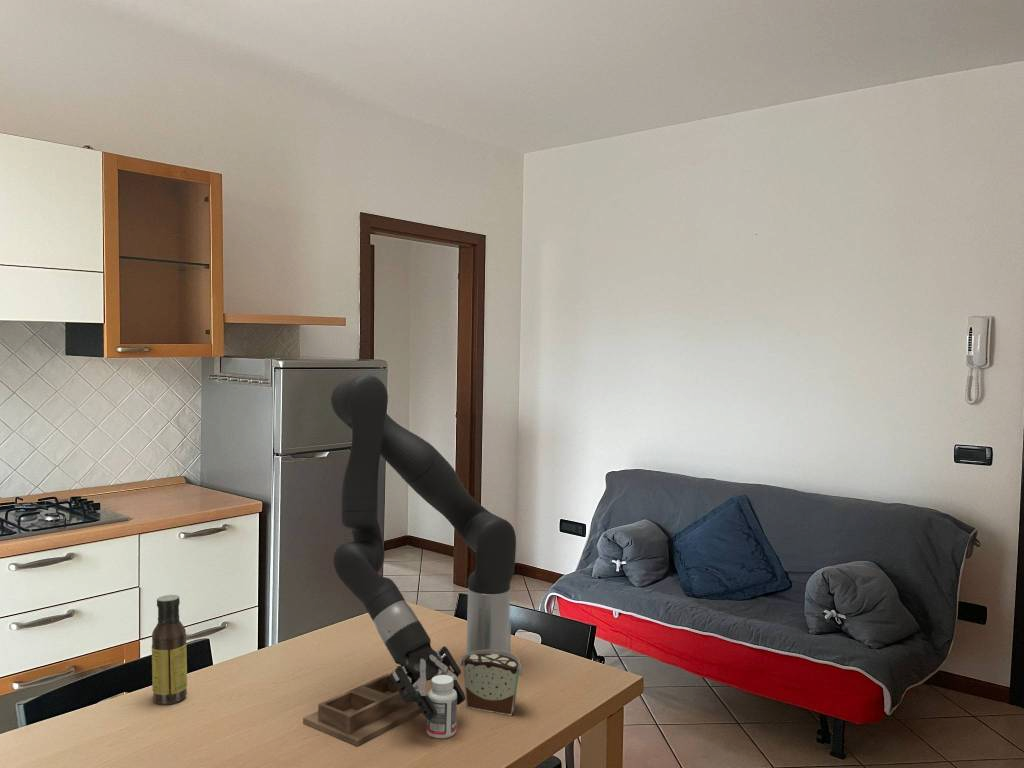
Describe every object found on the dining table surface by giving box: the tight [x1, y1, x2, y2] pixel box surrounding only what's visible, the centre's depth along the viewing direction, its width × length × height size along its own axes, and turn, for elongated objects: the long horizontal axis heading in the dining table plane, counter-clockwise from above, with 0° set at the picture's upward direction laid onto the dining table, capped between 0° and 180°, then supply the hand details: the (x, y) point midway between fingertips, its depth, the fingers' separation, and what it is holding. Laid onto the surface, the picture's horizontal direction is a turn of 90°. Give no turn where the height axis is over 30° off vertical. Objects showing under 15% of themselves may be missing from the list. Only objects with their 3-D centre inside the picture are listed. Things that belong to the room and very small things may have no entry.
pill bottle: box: [426, 675, 458, 739], centre depth 145 cm, size 5×5×10 cm
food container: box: [459, 650, 523, 716], centre depth 157 cm, size 12×6×10 cm, turn 71°
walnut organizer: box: [302, 673, 423, 747], centre depth 151 cm, size 20×14×4 cm
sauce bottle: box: [151, 594, 188, 706], centre depth 155 cm, size 6×6×20 cm
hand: (447, 709), depth 144 cm, fingers open, 7 cm apart
